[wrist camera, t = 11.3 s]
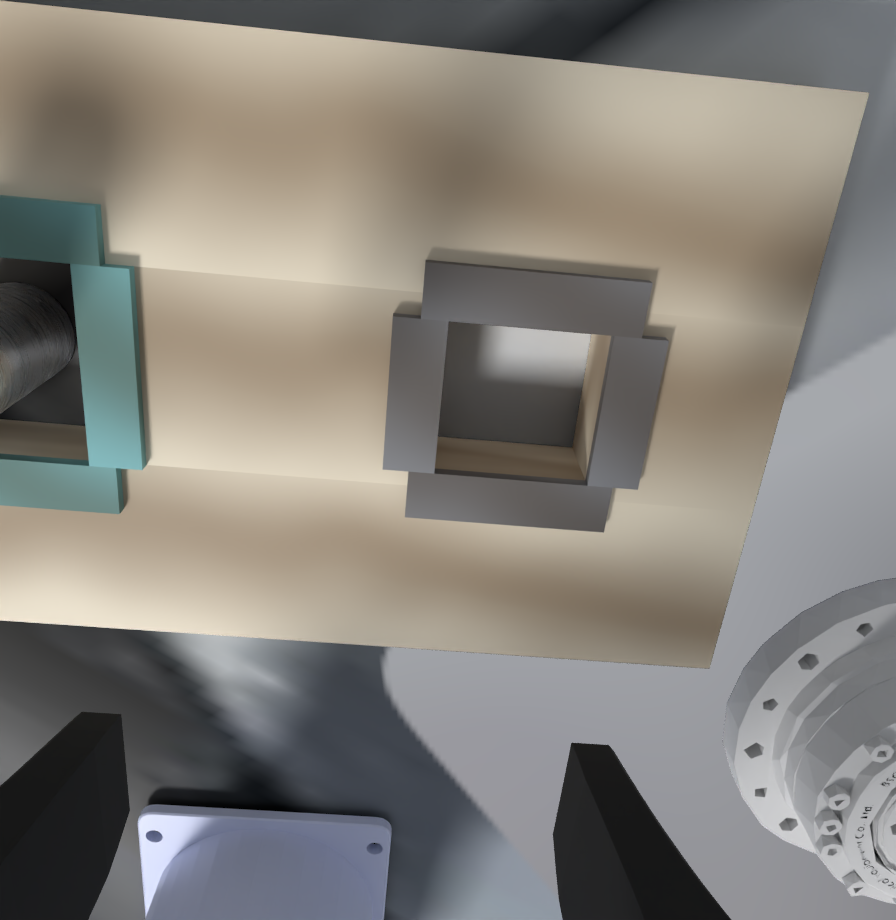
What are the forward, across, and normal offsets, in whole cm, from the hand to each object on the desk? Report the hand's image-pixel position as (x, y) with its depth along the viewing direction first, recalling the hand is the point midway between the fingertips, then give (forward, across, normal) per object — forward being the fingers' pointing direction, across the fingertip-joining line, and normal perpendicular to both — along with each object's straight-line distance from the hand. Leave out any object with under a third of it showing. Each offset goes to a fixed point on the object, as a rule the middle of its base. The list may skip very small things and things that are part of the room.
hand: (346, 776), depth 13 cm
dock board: (+9, +3, -4) cm, 11 cm away
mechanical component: (+10, -16, +6) cm, 19 cm away
